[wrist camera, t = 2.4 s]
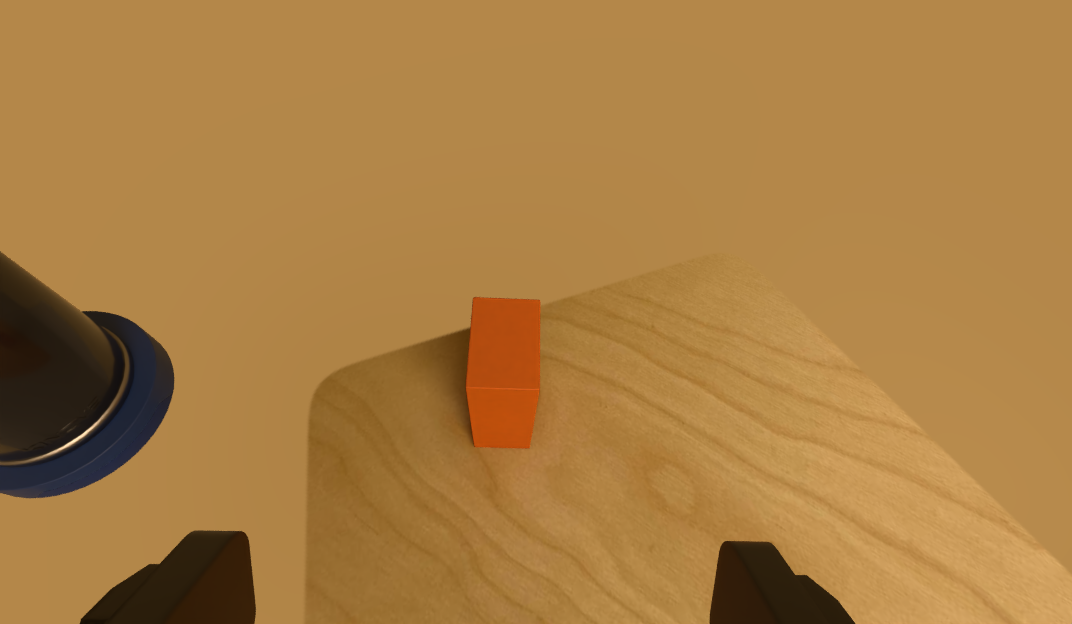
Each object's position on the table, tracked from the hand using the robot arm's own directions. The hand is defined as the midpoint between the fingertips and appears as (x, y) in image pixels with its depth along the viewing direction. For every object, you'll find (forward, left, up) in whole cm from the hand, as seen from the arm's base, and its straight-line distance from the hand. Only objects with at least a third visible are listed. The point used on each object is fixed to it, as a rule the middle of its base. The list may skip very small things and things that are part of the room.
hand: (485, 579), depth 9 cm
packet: (-7, +9, -24) cm, 26 cm away
